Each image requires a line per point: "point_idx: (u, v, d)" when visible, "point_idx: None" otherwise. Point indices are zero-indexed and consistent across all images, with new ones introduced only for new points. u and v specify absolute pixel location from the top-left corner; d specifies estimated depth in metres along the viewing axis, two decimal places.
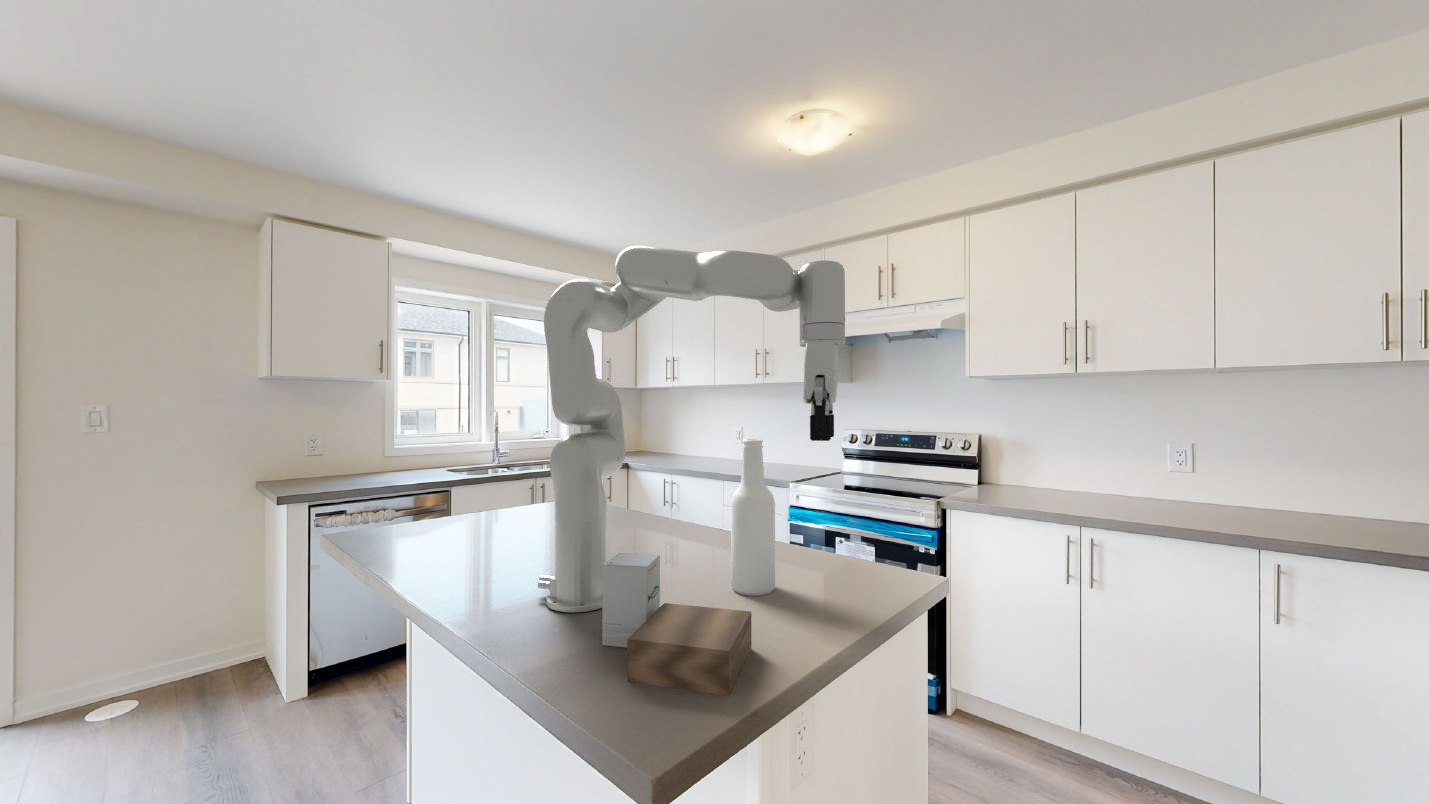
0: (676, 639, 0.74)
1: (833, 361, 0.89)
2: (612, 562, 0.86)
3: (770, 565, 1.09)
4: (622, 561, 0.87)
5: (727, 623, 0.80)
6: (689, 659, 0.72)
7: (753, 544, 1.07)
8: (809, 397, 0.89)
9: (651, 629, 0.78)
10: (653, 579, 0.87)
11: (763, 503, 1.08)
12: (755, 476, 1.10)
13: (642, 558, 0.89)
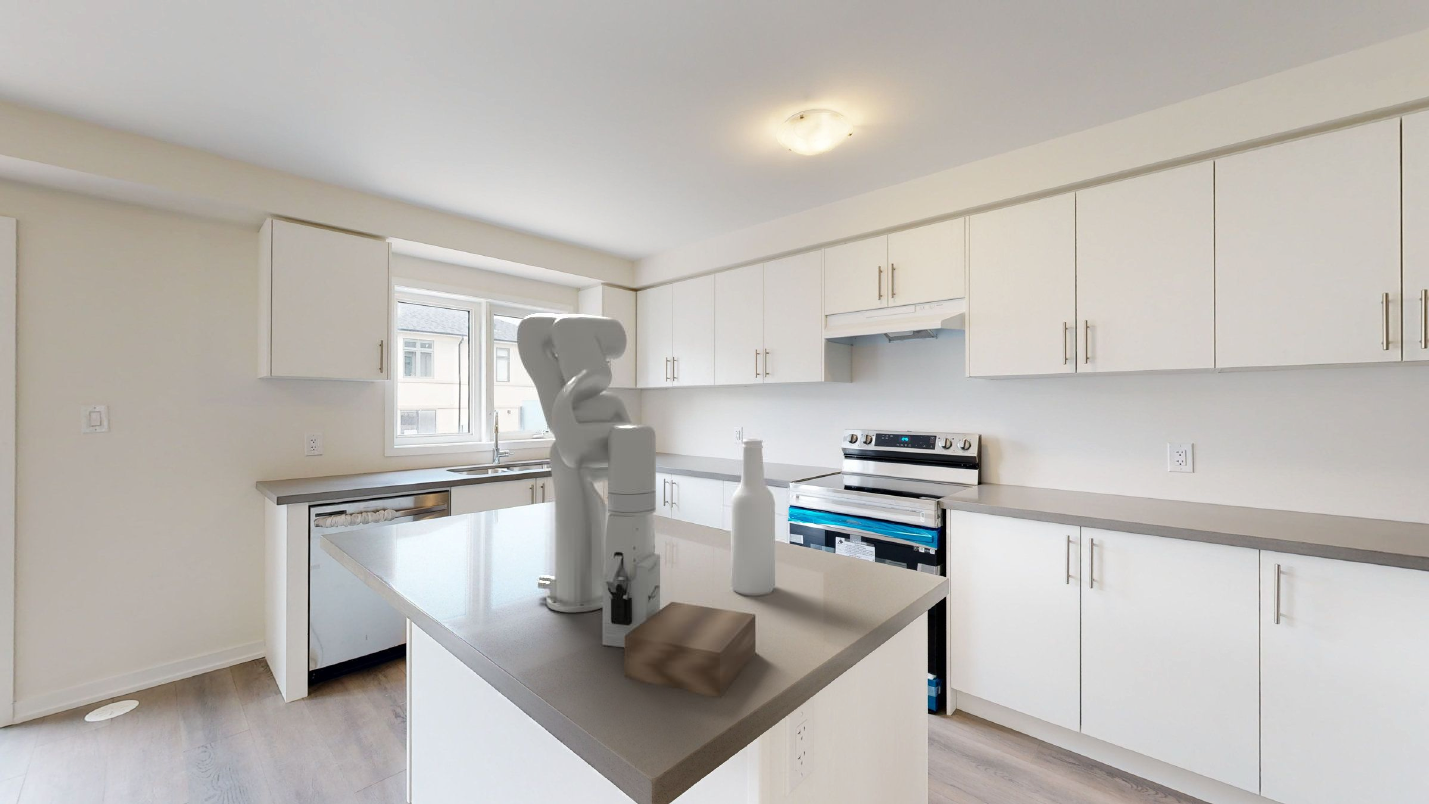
0: (672, 638, 0.75)
1: (633, 537, 0.84)
2: None
3: (770, 565, 1.09)
4: None
5: (727, 625, 0.79)
6: (682, 659, 0.72)
7: (753, 544, 1.07)
8: None
9: (650, 627, 0.78)
10: (653, 579, 0.87)
11: (763, 503, 1.08)
12: (755, 476, 1.10)
13: None
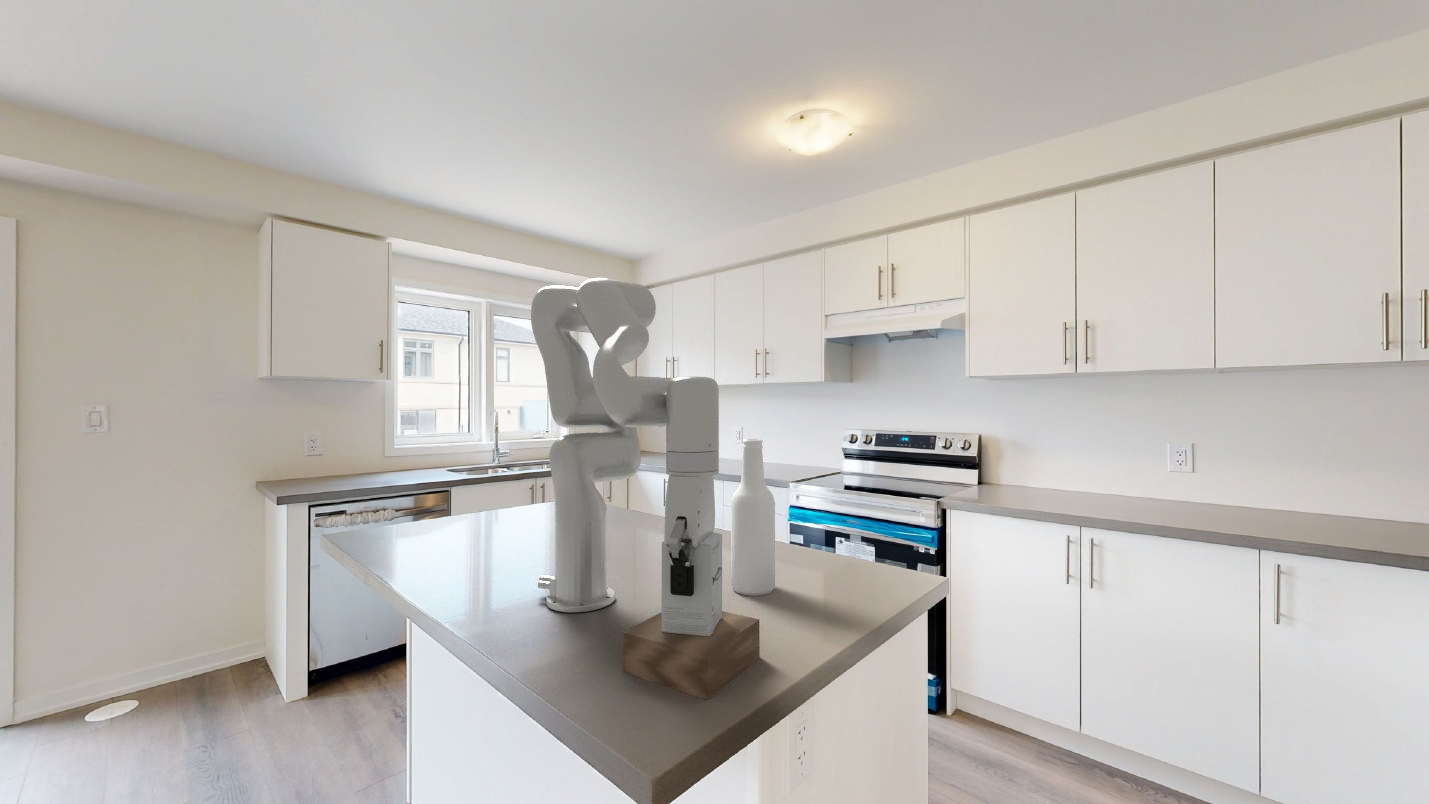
0: (666, 638, 0.75)
1: (698, 500, 0.75)
2: None
3: (770, 565, 1.09)
4: None
5: (726, 628, 0.78)
6: (673, 659, 0.73)
7: (753, 544, 1.07)
8: None
9: (650, 626, 0.79)
10: (717, 559, 0.79)
11: (763, 503, 1.08)
12: (755, 476, 1.10)
13: None
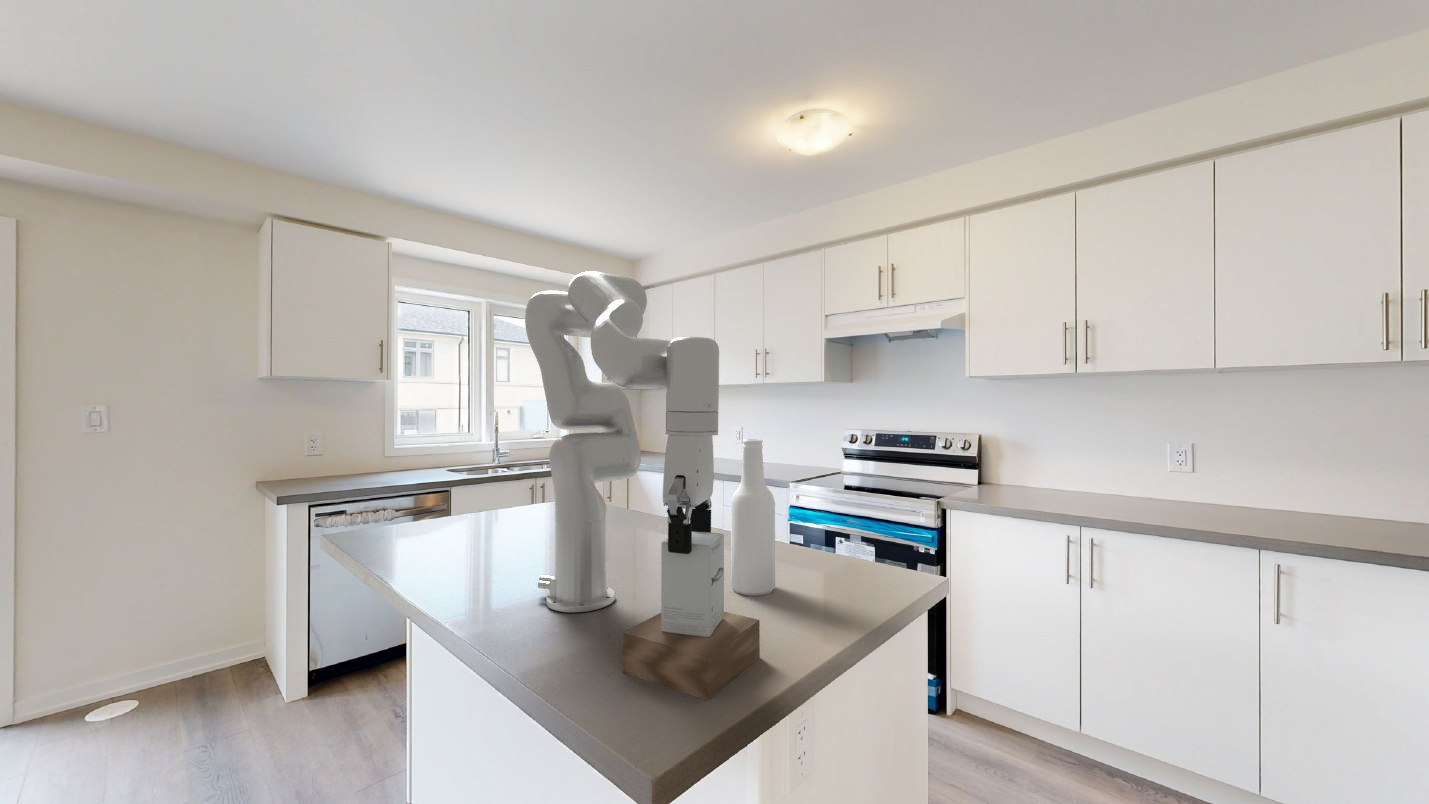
0: (666, 639, 0.75)
1: (697, 459, 0.75)
2: None
3: (770, 565, 1.09)
4: None
5: (726, 629, 0.78)
6: (673, 660, 0.73)
7: (753, 544, 1.07)
8: None
9: (650, 626, 0.79)
10: (717, 560, 0.78)
11: (763, 503, 1.08)
12: (755, 476, 1.10)
13: (705, 536, 0.80)
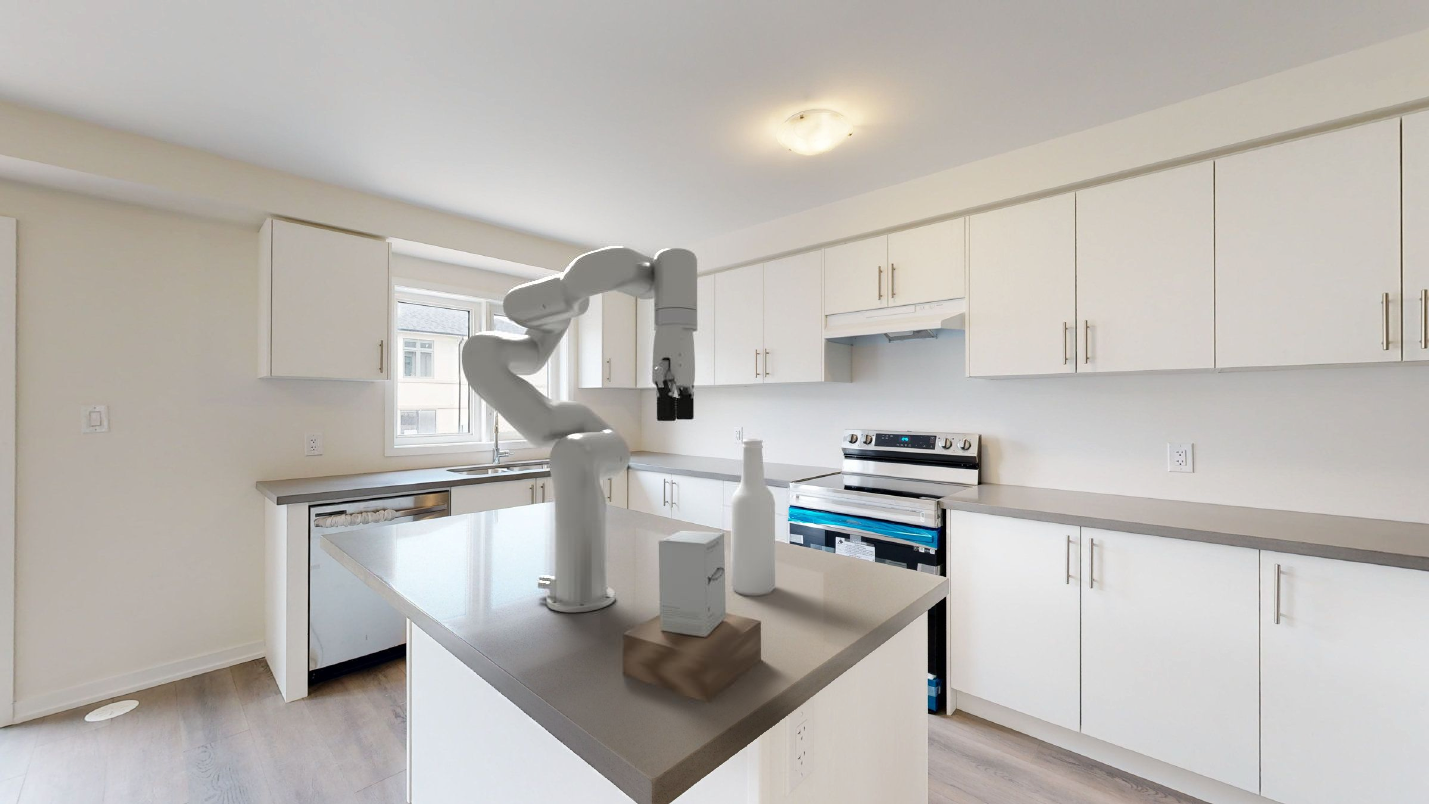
0: (667, 640, 0.74)
1: (679, 344, 0.93)
2: (669, 538, 0.78)
3: (770, 565, 1.09)
4: (680, 538, 0.78)
5: (727, 630, 0.78)
6: (674, 661, 0.72)
7: (753, 544, 1.07)
8: None
9: (651, 627, 0.79)
10: (715, 559, 0.78)
11: (763, 503, 1.08)
12: (755, 476, 1.10)
13: (703, 536, 0.79)
